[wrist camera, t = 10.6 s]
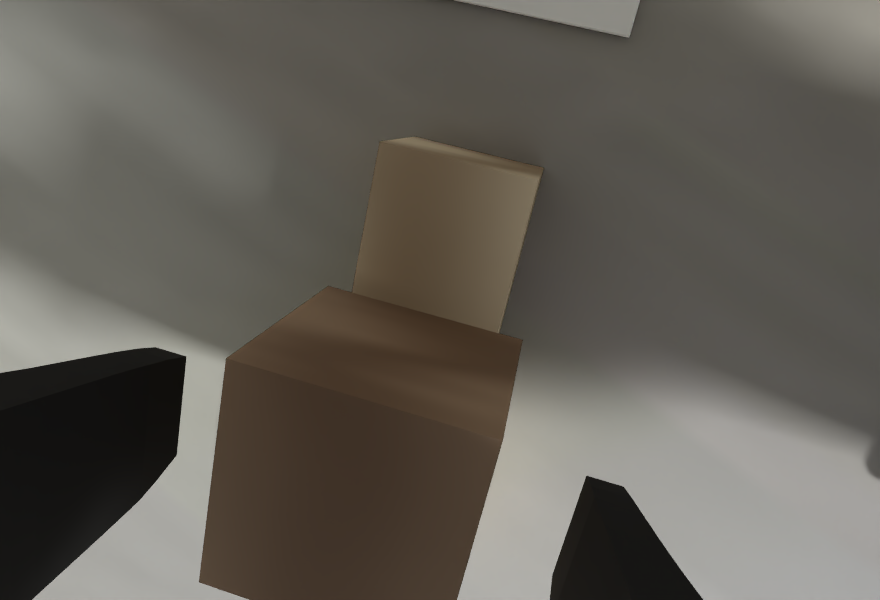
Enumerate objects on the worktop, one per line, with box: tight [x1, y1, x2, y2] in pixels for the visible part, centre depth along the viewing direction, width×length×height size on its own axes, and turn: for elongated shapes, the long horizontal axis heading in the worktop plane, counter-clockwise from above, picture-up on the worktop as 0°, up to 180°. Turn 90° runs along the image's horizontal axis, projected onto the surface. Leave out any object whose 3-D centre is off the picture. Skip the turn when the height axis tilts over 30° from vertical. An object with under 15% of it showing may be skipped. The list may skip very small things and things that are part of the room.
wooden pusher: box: [199, 137, 544, 600], centre depth 13 cm, size 4×10×7 cm, turn 167°
